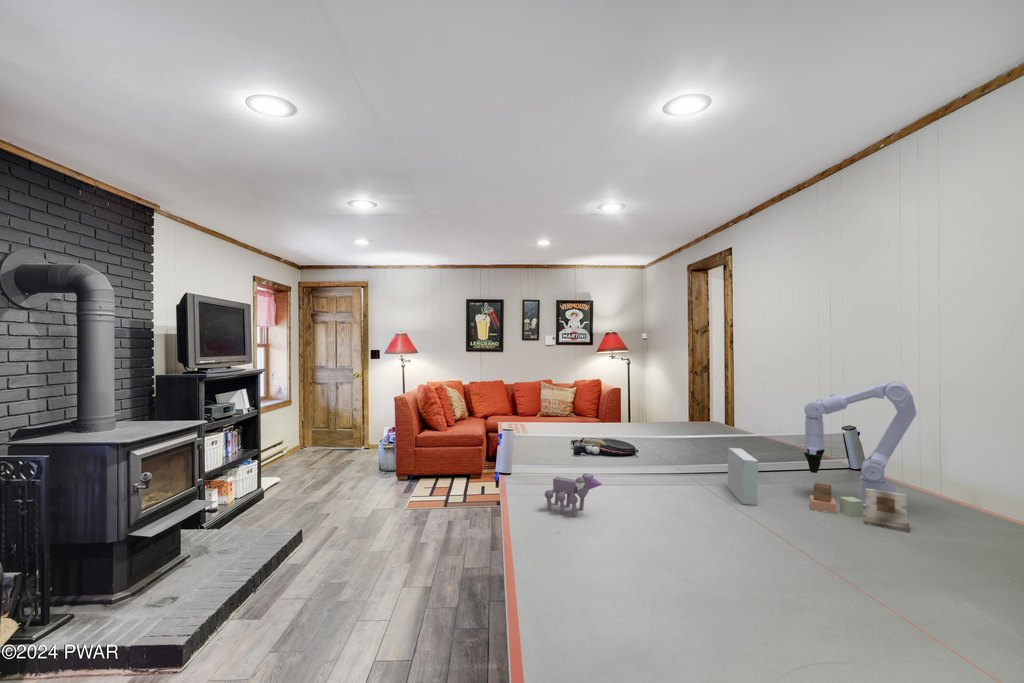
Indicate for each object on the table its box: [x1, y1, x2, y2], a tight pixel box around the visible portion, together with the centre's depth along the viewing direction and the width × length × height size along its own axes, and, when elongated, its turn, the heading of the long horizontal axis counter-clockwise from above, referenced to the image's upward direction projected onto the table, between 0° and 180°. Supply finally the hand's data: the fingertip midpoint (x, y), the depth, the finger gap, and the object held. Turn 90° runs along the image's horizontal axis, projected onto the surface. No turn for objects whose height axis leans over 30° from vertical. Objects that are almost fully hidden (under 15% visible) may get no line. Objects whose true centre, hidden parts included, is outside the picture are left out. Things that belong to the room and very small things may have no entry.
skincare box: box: [726, 447, 759, 506], centre depth 173 cm, size 21×6×16 cm, turn 168°
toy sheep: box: [544, 472, 603, 518], centre depth 157 cm, size 20×11×14 cm, turn 56°
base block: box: [809, 494, 837, 514], centre depth 159 cm, size 7×7×4 cm
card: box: [863, 489, 911, 533], centre depth 144 cm, size 11×6×10 cm, turn 51°
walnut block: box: [813, 481, 832, 503], centre depth 159 cm, size 4×4×5 cm
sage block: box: [839, 496, 864, 517], centre depth 154 cm, size 4×4×5 cm
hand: (814, 470), depth 173 cm, fingers open, 7 cm apart
